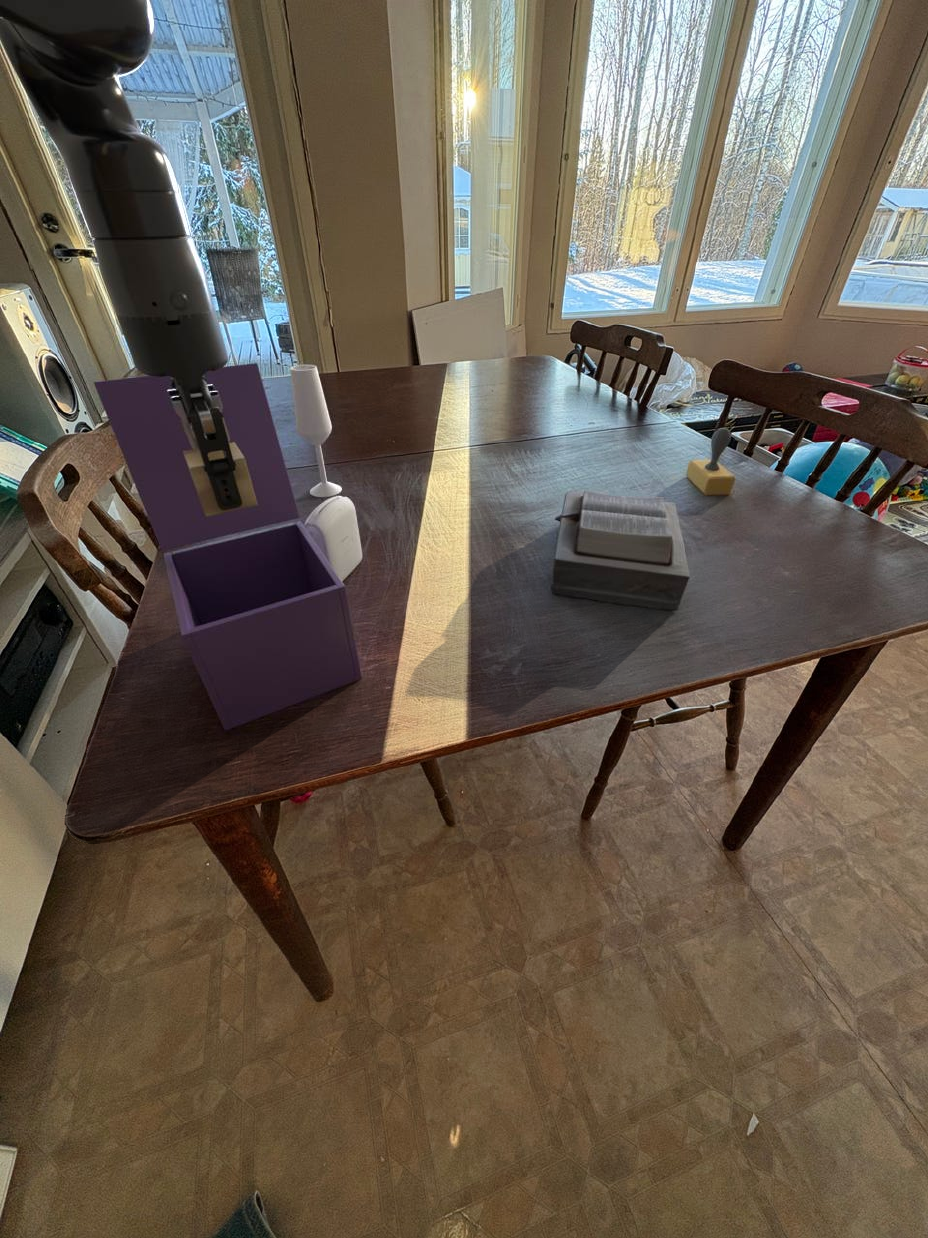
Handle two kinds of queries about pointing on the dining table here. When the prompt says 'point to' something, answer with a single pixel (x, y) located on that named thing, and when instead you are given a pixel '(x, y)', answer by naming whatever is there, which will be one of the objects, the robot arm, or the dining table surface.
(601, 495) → the bible
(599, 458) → the dining table surface
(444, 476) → the dining table surface
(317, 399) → the champagne flute
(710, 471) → the rubber stamp
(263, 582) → the box
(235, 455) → the block
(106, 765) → the dining table surface
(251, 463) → the lid
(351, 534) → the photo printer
